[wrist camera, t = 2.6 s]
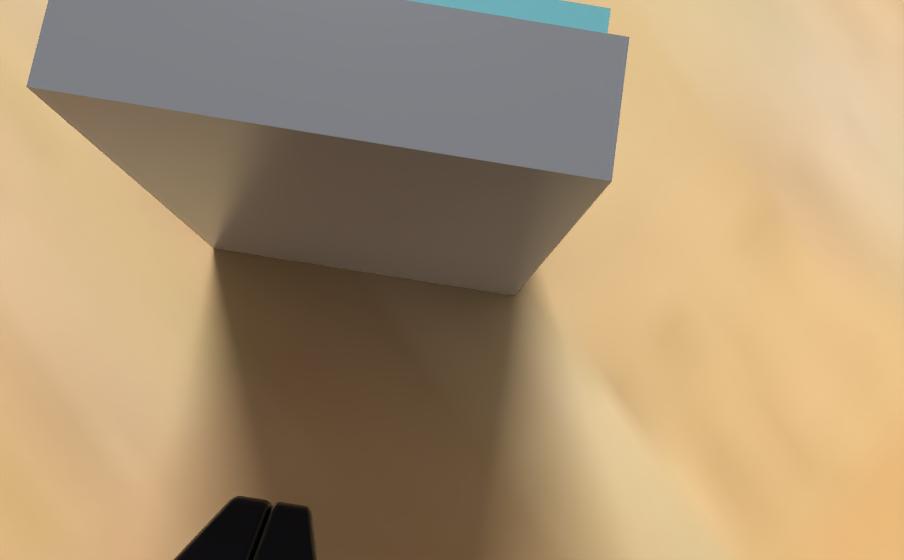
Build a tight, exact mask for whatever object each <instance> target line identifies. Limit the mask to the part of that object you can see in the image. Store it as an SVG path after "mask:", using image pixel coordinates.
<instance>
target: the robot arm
mask: <svg viewBox="0 0 904 560" xmlns="http://www.w3.org/2000/svg"><path fill="white" fill-rule="evenodd" d="M174 560H317V554H316V546H315V538H314V530H313V522H312V515H311V511H310V509H309V508H308V507H307V506H302V505H295V504H289V503H282V502H278V503H275V504H274V505H273V506H272V505H271V503H270V502H269V501H267V500H263V499H256V498H250V497H243V496H237V497H235V498H233V499H231V500H230V501H229V502H228V503H227V504H226V505H225V506H224V507H223V508H222V509H221V510H220V511H219V512H218V513H217V514H216V515H215V517H214V518H213V519H212V520H211V521H210V522H209V523H208V524H207V525H206V526H205V527H204V528H203V529H202V530H201V531H200V532H199V533H198V535H197V536H196V537H195V538H194V539H193V540H192V541H191V542H190V543H189V544H188V545H187V546H186V547H185V548H184V549H183V550H182V552H181V553H180V554H179V555H178V556H177V557H176V558H175V559H174Z"/></svg>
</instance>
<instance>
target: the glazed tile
mask: <svg viewBox="0 0 904 560" xmlns="http://www.w3.org/2000/svg"><path fill="white" fill-rule="evenodd" d="M609 17H610V8H604V7H598V6H592V5H586V4H580V3H574V2H568V1H562V0H49V1H48V5H47V9H46V12H45V16H44V20H43V24H42V28H41V32H40V36H39V40H38V44H37V48H36V52H35V56H34V60H33V63H32V67H31V71H30V75H29V79H28V83H27V87H28V88H29V89H30V90H31V91H32V92H33V93H34V94H36V95H37V96H38V97H39V98H40V99H41V100H43V101H44V102H45V103H46V104H47V105H48V106H49V107H51V108H52V109H53V110H54V111H55V112H56V113H58V114H59V115H60V116H61V117H62V118H63V119H65V120H66V121H67V122H68V123H69V124H70V125H71V126H73V127H74V128H75V129H76V130H77V131H78V132H80V133H81V134H82V135H83V136H84V137H85V138H87V139H88V140H89V141H90V142H91V143H92V144H93V145H95V146H96V147H97V148H98V149H99V150H100V151H102V152H103V153H104V154H105V155H106V156H107V157H109V158H110V159H111V160H112V161H113V162H114V163H115V164H117V165H118V166H119V167H120V168H121V169H122V170H124V171H125V172H126V173H127V174H128V175H129V176H130V177H132V178H133V179H134V180H135V181H136V182H137V183H139V184H140V185H141V186H142V187H143V188H144V189H146V190H147V191H148V192H149V193H150V194H151V195H152V196H154V197H155V198H156V199H157V200H158V201H159V202H161V203H162V204H163V205H164V206H165V207H166V208H168V209H169V210H170V211H171V212H172V213H173V214H174V215H176V216H177V217H178V218H179V219H180V220H181V221H183V222H184V223H185V224H186V225H187V226H188V227H190V228H191V229H192V230H193V231H194V232H195V233H196V234H198V235H199V236H200V237H201V238H202V239H203V240H205V241H206V242H207V243H208V244H209V245H210V246H211V247H213V248H216V249H222V250H228V251H235V252H241V253H247V254H254V255H260V256H266V257H273V258H279V259H285V260H292V261H298V262H304V263H311V264H317V265H323V266H330V267H336V268H342V269H349V270H355V271H361V272H368V273H374V274H380V275H387V276H393V277H399V278H406V279H412V280H418V281H425V282H431V283H437V284H444V285H450V286H456V287H463V288H469V289H475V290H482V291H488V292H494V293H501V294H507V295H513V296H515V294H516V293H517V292H518V291H519V290H520V289H521V287H522V286H523V285H524V284H525V283H526V281H527V280H528V279H529V278H530V277H531V276H532V274H533V273H534V272H535V271H536V270H537V269H538V267H539V266H540V265H541V264H542V263H543V261H544V260H545V259H546V258H547V257H548V256H549V254H550V253H551V252H552V251H553V250H554V248H555V247H556V246H557V245H558V244H559V243H560V241H561V240H562V239H563V238H564V237H565V236H566V234H567V233H568V232H569V231H570V230H571V228H572V227H573V226H574V225H575V224H576V223H577V221H578V220H579V219H580V218H581V217H582V215H583V214H584V213H585V212H586V211H587V210H588V208H589V207H590V206H591V205H592V204H593V203H594V201H595V200H596V199H597V198H598V197H599V195H600V194H601V193H602V192H603V191H604V190H605V188H606V187H607V186H608V185H609V184H610V182H611V181H612V174H613V165H614V157H615V149H616V141H617V133H618V125H619V116H620V108H621V100H622V92H623V84H624V75H625V67H626V59H627V51H628V43H629V37H625V36H619V35H613V34H607V32H608V24H609Z"/></svg>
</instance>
